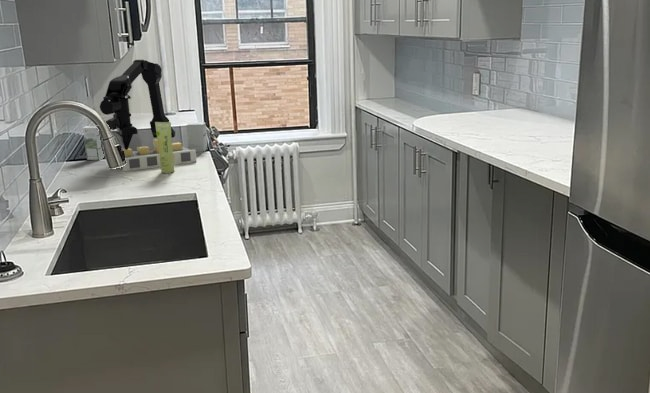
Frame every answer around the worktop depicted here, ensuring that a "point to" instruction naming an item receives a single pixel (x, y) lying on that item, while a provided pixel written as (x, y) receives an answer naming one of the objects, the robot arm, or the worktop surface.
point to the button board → (152, 153)
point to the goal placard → (158, 160)
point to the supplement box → (197, 136)
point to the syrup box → (92, 143)
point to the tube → (165, 146)
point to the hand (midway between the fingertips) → (126, 149)
